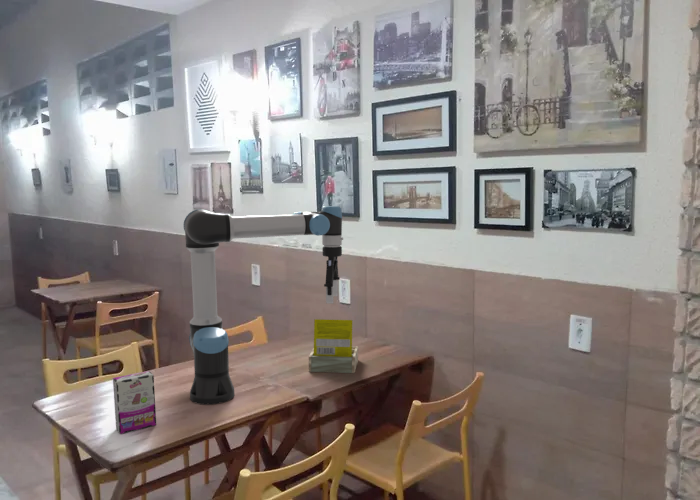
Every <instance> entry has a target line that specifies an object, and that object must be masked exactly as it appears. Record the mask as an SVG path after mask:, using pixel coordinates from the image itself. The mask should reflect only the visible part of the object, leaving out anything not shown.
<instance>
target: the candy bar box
mask: <svg viewBox="0 0 700 500" xmlns="http://www.w3.org/2000/svg"><path fill="white" fill-rule="evenodd" d="M112 385H113V386H112V387H113V399H114V400H113V402H114V403H113V404H114V415H115V416H114V417H115V428H116V431H117V432H118V433H119V434H120V435H123V434H126V433H131V432H134V431H138V430H141V429H143V430H144V429H146V428H150V427H154V426H157V416H156V415H157V414H156V413H157V412H156V411H157V410H156V396H155V375H154V374H153V373H152V372H151V371H150V370H147V371H142V372H136V373H131V374H127V375H121V376H117V377H112Z"/></svg>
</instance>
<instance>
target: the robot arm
mask: <svg viewBox="0 0 700 500" xmlns="http://www.w3.org/2000/svg"><path fill="white" fill-rule="evenodd" d="M342 226H343V212H342V207H341V206H339V205H325V206H322V209H321V210H320V211H295V212H293V213H292V214H277V215H276V214H275V215H274V214H273V215H272V214H271V215H246V216H245V215H244V216H232V215H230V214H229V213H215V212H211V211H210V210H207V209H203V208H202V209H201V208H199V209H195V210H192V211H191V212H189V213H188V214H187V215H186V217H185V218H184V220H183V231H184V233H185V236H184V237H185V248H186V250H187V251H189V252H190V267H191V269H190V270H191V288H192V310H193V311H192V313H193V317H192V318H191V319H190V320H189V336H188V339H189V345H190V347H191V349H192V353H193V360H194V361H193V363H194V376H193V381H192V385H191V387H190V388H191V389H190V392H189V399H190V401H191V402H192V403H195V404H199V405H217V404H222V403H223V404H224V403H226V402H228V401H231V400H232V399H233V398H234V397H235V387H234V384H233V381H232V379H231V376H230V367H229V363H230V362H229V341H230V340H229V336H228V333H227V331H226V329H223V318H222V317H221V316H219V315H218V314H219V313H218V295H217V294H218V293H217V270H216V269H217V267H216V250H218V248H219V247H220V243H229V242H230V243H231V242H232V241H233V240H236V239H251V238H252V239H253V238H255V239H256V238H272V237H291V236H293V237H294V236H312V235H313V236H322V237H321V240H322V241H321V242H322V256H323V257H325V258H327V257H328V258H327V260H326V272H325V283H324V284H323V287H325V303H326V304H334V297H338V296H339V280H340V277H339V276H340V275H339V267H338V263H339V262H338V257H341V256H342V252H343V249H342V248H343V247H342V244H343V240H344V237H343V235H342V233H343V232H342V231H343V229H342V228H343V227H342Z"/></svg>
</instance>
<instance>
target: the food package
mask: <svg viewBox="0 0 700 500" xmlns="http://www.w3.org/2000/svg"><path fill="white" fill-rule="evenodd" d="M352 346H353V320H352V319H323V318H322V319H320V318H319V319H318V318H317V319H315V318H314V323H313V348H314V356H335V357H352Z"/></svg>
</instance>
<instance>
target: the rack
mask: <svg viewBox="0 0 700 500" xmlns="http://www.w3.org/2000/svg"><path fill="white" fill-rule="evenodd" d="M358 362H359V346H357V345H356V346H353V345H352V357H335V356H314V347H313V348H312V350H311V352H310V354H309V355H308V372H311V373H315V372H316V373H318V372H319V373H336V374H337V373H339V374H340V373H343V374H355V372H356V371H357V366H358Z"/></svg>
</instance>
